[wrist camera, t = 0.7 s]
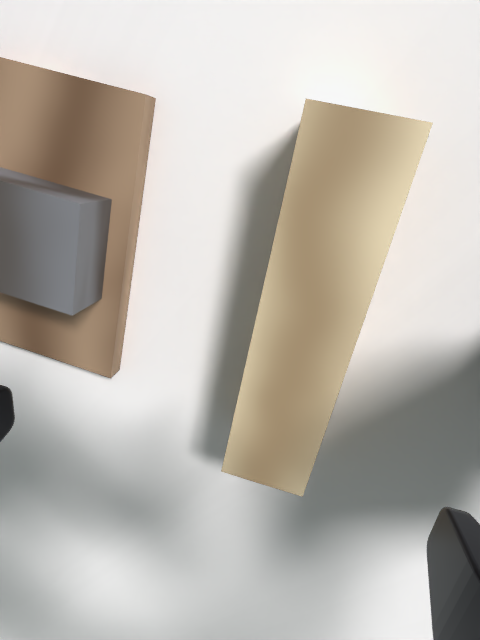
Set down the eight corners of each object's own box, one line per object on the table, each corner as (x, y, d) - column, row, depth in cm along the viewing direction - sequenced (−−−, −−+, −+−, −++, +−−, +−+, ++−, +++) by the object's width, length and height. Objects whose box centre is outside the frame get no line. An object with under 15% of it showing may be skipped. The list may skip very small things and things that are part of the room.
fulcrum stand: (155, 98, 17) (115, 82, 14) (119, 369, 23) (85, 403, 19) (-9, 56, 18) (-83, 31, 15) (-5, 328, 23) (-57, 353, 20)
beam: (408, 132, 16) (432, 122, 12) (306, 442, 22) (302, 496, 18) (310, 113, 16) (305, 98, 13) (238, 422, 23) (221, 471, 19)
